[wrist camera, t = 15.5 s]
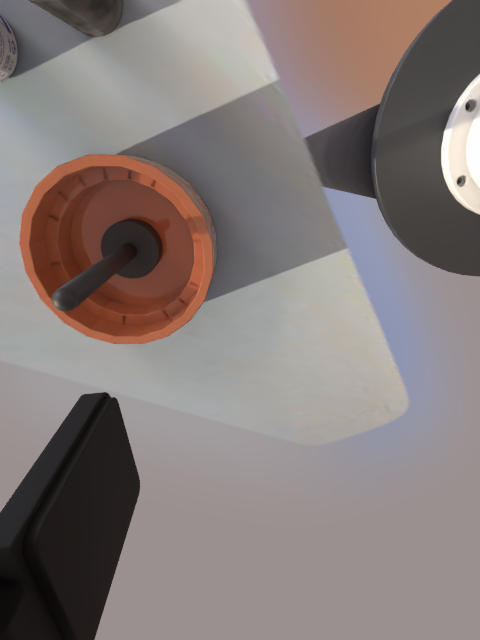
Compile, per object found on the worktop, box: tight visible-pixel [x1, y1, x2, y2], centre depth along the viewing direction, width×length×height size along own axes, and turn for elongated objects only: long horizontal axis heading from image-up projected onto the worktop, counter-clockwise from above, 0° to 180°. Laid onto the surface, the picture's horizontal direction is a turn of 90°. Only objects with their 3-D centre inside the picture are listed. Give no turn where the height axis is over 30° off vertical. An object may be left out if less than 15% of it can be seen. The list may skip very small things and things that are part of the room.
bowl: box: [19, 155, 217, 344], centre depth 33 cm, size 16×16×6 cm
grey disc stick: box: [52, 218, 163, 312], centre depth 28 cm, size 5×5×16 cm
